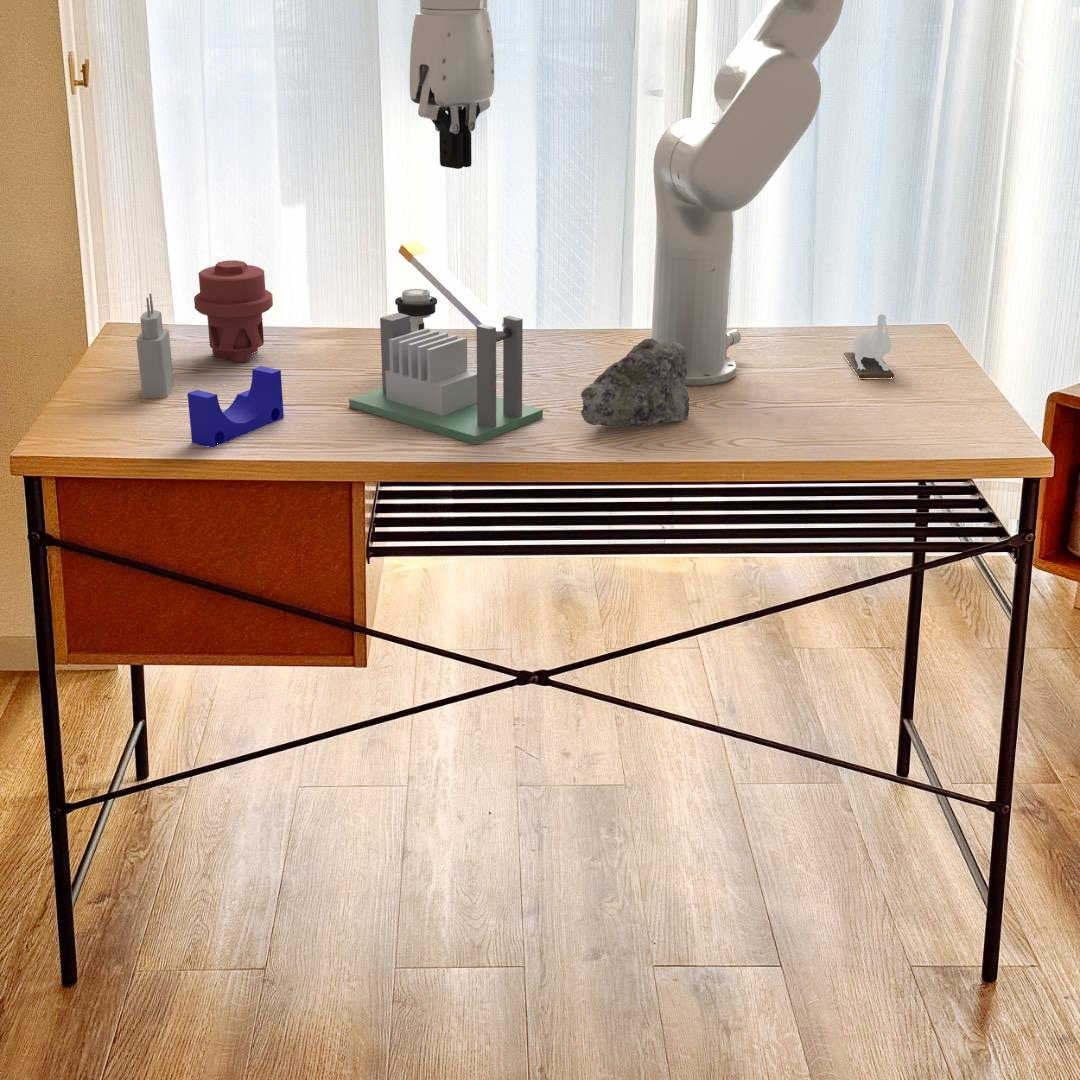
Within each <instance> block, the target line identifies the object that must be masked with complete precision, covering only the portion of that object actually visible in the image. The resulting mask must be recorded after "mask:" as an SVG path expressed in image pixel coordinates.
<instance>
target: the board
mask: <svg viewBox="0 0 1080 1080" xmlns="http://www.w3.org/2000/svg"><path fill="white" fill-rule="evenodd" d="M523 322H524V321H523V318H520V317H516V316H511V315H507V316H504V317H502V323H503V324H504V325H505V326H506V327H507V328H510V330H511V331H512V336H511V337H510V338H507V339H504V340H502V348H503V352H502V353H503V355H502V357H503V358H502V359H503V363H502V364H503V366H502V369H503V370H502V371H503V377H502V378H503V380H502V383H503V384H502V389H503V392H502V394H503V395H502V396H503V398H502V397H498V396H497V342H496V327H493V326H489V325H484V324H481V325H478V326H475V328H476V372H473V371H470V370H468V338H467V337H461V338H458V335H456V334H453V335H450V336H449V332H448V333H447V332H443V333H440V331H439V330H433V331H430V328H427V327H426V328H425V327H424V329H422V330H419V331H415V332H412V333H410V316H409V315H405V314H401V313H398V312H395V313H392V314H388V315H385V316H382V317H380V318H379V324H380V327H379V328H380V329H379V330H380V351H381V352H380V354H381V355H380V356H381V380H382V381H381V382H382V383H381V384H382V385H381V386H382V387H380V388H377V389H374V390H371V391H369V392H365V393H362V394H360V395H356V396H353V397H350V398H349V399H348V405H349V408H351V409H356V410H358V411H362V412H366V413H369V414H372V415H375V416H379V417H381V418H385V419H388V420H392V421H395V422H398V423H402V424H405V425H408V426H411V427H415V428H417V429H418V428H419V429H422V430H425V431H428V432H432V433H435V434H439V435H442V436H445V437H449V438H452V439H455V440H458V441H462V442H465V443H468V444H471V445H478V444H480V443H483V442H485V441H488V440H491V439H493V438H495V437H498V436H500V435H503V434H505V433H508V432H510V431H513V430H516V429H518V428H520V427H521V428H522V426H525V425H528V424H530V423H532V422H535V421H538V420H540V419H543V416H544V414H543V413H544V410H543V409H542V408H538V407H534V406H530V405H528V404H524V403H523V332H524V331H523V330H524V329H523Z"/></svg>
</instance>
